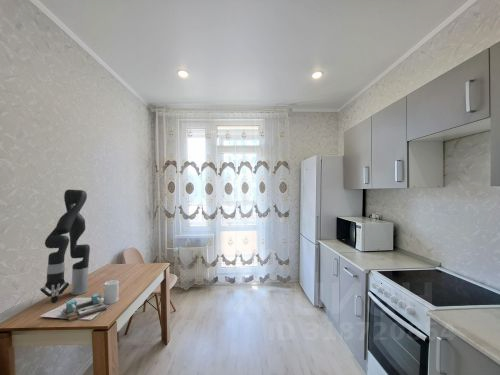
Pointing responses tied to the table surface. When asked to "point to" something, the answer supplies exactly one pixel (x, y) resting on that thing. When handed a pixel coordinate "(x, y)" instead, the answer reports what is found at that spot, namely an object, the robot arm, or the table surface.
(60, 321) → the table surface
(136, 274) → the table surface
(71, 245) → the robot arm
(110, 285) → the mug
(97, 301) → the fixed leg
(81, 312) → the board
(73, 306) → the sliding leg
